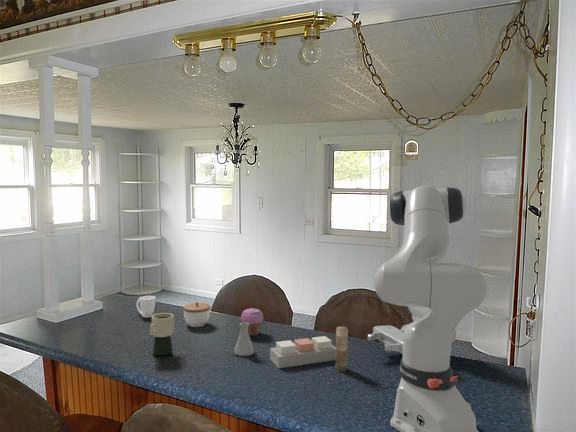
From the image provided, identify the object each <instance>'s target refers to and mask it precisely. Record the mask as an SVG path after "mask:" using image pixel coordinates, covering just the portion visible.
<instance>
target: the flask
mask: <svg viewBox="0 0 576 432" xmlns="http://www.w3.org/2000/svg"><path fill="white" fill-rule="evenodd" d="M248 326H249V323H243V322H240V323H239V327H240V330H239V334H238V338H237V342H236V345H235V346H234V349H233V355H235V356H239V357H246V356H247V357H249V356H252V355H253V354H254V353H255V349H254V346H253V343H252V340H251V337H250V335H249V333H248Z"/></svg>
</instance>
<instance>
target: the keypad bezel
mask: <svg viewBox="0 0 576 432" xmlns="http://www.w3.org/2000/svg"><path fill="white" fill-rule="evenodd" d="M269 359H270V361H271V362H272V363H273V364H274V365H275V366H276V367H277V369H283V368H290V367H291V368H292V367H297V366H303V365H310V364H317V363H324V362H332V361H336V346H334V345H333V344H332V348H330V349H323V350H317V349H315V348H314V351H308V352H301V353H299V352H298V351H297V350H296V353H294V354H286V355H280V354H279V353H278V352H277V351H276V346H275V347H270V348H269Z"/></svg>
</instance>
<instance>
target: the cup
mask: <svg viewBox="0 0 576 432" xmlns="http://www.w3.org/2000/svg"><path fill="white" fill-rule="evenodd" d="M156 299H157V297H156V296H154V295H144V296H140V297H138V299H137V300H136V305H135V307H136V310H137V311H138V313H140V315H141V317H142V318H152V316H153V315H154V312H155V304H156Z"/></svg>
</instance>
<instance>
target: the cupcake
mask: <svg viewBox="0 0 576 432" xmlns="http://www.w3.org/2000/svg"><path fill="white" fill-rule="evenodd" d="M240 321H241V323H249V326H248V333H249V336H254V337H256V336H258V335H259V333H260V329H261V325H262V323H263V321H264V313H263V312H262V311H261V310H260V309H257V308H254V307H251V308H246V309H244V310H243V312H242V313H241V316H240Z"/></svg>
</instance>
